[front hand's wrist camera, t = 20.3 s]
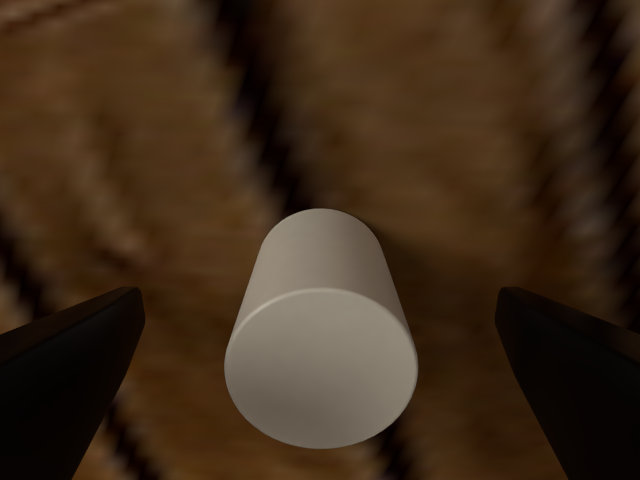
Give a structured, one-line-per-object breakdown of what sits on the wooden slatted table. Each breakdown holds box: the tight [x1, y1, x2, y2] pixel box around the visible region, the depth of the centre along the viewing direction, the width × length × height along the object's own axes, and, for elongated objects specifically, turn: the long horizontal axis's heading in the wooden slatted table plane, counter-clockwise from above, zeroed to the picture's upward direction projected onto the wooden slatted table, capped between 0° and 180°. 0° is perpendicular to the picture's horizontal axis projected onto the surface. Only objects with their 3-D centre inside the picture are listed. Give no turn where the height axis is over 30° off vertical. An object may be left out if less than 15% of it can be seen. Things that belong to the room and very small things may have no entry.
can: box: [224, 209, 418, 449], centre depth 11 cm, size 4×4×5 cm
